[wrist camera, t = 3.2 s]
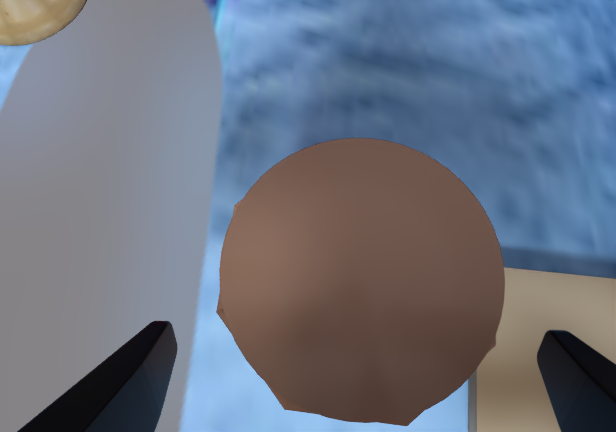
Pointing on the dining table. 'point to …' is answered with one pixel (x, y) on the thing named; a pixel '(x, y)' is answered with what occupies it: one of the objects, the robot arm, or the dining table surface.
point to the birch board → (537, 346)
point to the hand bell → (35, 19)
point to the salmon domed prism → (361, 281)
